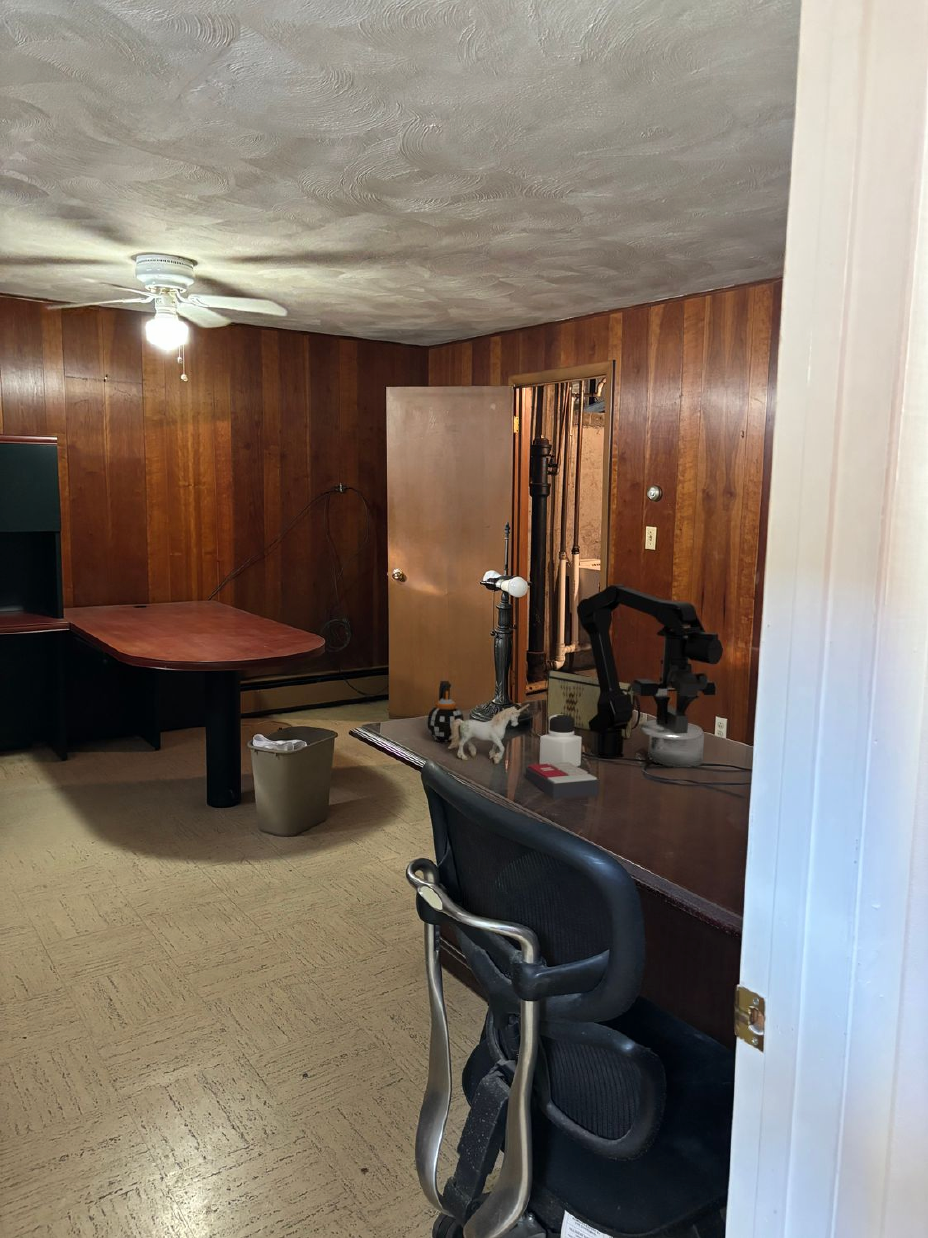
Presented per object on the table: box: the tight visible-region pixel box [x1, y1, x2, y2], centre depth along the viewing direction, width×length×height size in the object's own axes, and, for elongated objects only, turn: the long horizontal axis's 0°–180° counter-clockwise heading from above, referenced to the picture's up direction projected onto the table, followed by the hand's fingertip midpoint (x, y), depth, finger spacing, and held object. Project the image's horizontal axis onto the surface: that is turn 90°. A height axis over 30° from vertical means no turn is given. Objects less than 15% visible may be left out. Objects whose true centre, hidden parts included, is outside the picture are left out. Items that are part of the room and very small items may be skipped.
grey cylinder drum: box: [647, 732, 705, 768], centre depth 218 cm, size 13×13×7 cm
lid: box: [640, 704, 704, 740], centre depth 206 cm, size 14×14×5 cm
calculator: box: [525, 762, 601, 800], centre depth 195 cm, size 11×4×15 cm
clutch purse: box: [544, 669, 642, 740], centre depth 246 cm, size 30×7×15 cm, turn 50°
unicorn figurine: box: [447, 703, 530, 765], centre depth 213 cm, size 7×20×13 cm, turn 90°
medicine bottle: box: [538, 714, 583, 767], centre depth 210 cm, size 7×7×12 cm
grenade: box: [426, 680, 465, 745], centre depth 230 cm, size 11×10×15 cm
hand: (671, 723), depth 206 cm, fingers closed on lid, 3 cm apart
